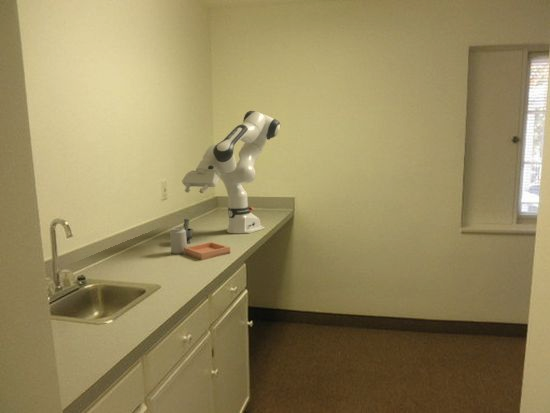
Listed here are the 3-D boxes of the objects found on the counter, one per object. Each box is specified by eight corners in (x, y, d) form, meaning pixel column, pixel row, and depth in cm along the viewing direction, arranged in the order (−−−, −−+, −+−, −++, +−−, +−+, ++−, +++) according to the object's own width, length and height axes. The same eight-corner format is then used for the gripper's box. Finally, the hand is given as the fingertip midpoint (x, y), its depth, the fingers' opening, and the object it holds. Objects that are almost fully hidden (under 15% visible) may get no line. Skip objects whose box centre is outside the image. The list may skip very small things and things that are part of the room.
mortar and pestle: (188, 245, 213) (186, 222, 211) (171, 245, 215) (169, 222, 214) (197, 240, 224) (195, 218, 222) (181, 239, 226) (179, 218, 224)
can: (190, 251, 202) (188, 226, 200) (182, 255, 195) (180, 230, 194) (176, 250, 205) (175, 226, 203) (168, 254, 198) (166, 229, 196)
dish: (212, 247, 207) (211, 241, 207) (230, 253, 196) (229, 246, 195) (184, 254, 197) (184, 247, 197) (202, 260, 186) (201, 253, 185)
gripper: (186, 166, 219) (174, 187, 212) (217, 166, 208) (206, 188, 202) (192, 174, 223) (181, 195, 216) (223, 175, 213) (212, 196, 206)
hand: (193, 192), depth 209 cm, fingers open, 8 cm apart
